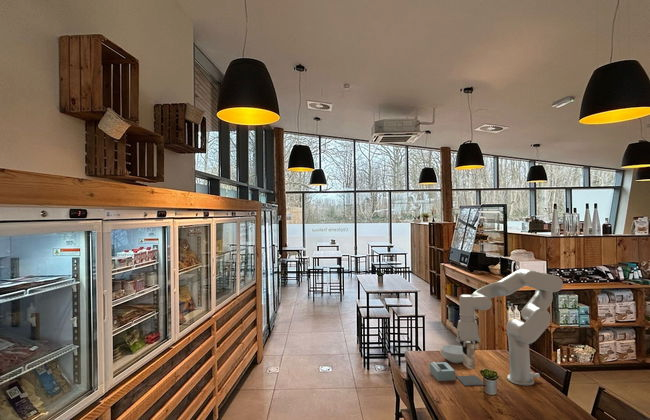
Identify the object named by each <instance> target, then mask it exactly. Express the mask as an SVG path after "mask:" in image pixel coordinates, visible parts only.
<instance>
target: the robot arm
mask: <svg viewBox="0 0 650 420" xmlns="http://www.w3.org/2000/svg"><path fill="white" fill-rule="evenodd" d="M524 287H529V288H532V289H535V292H534V295H532V297H531V298H530V299H529V300H528V302H527V303H526V304H525V305H524V306H523V307H522V309H521V312H520V316H521V318H522V319H524V320H525V321H523V320H521V319H518V318H512V319H510V320H508V321H507V323H506V324H505V325H506V327H505V330H506V335H507V341H508V353H509V354H508V362H509V373H508V374H507V375H506V380H507V381H508V382H510V383H512V384H515V385H518V386H526V387H527V386H532V385H534V384H535V379H534V378H540V377H541V375H540V373H539V372H534V371H531V361H530V360H531V359H530V344H533V343H534V342H536V341H537V340H538V339H539V338H540V337H541V335H543V333H544V332H546V330H547V329H548V327H549V326H550V324H551V321H552V317H551V313H550V312H549V311H548V309H549V307H550V306H551V304H552V302H553V293H558V292H559V291H561V290H562V289H563V288H564V282H563V280H562V279H561V278H560V276H557V275H554V274H550V273H546V272H539V271H535V270H532V269H531V270H530V269H527V268H520V269H517V270H515V271H514V272H512V273H510V274H509V275H507V276H505V277H504V278H501V279H500V280H498V281H495V282H492V283H489V284H487V285H484V286H482V287H481V288H478V289H477V290H475V291H473V293H471V294H465V293H463V294H460V295H459V320H458V321H457V328H456V337H455V341H456V342H457V343H458V344H460V346H462V351H463V353H464V354H465V355H467V347H466V341H469V342H471V343H472V344H473V345H474V353H476V351H475V350H476V349H475V347H476V345H477V344H478V343H479V342H481V341H482V339H481V337H480V335H479V326H478V323H477V320H476V319H478V315H476V310H481V311H488V310H489V309H490V308H492V305H493V303H492V298H496V297H506V296H510V295H512V294H514V293H516V292H518V290H521V289H522V288H524Z"/></svg>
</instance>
